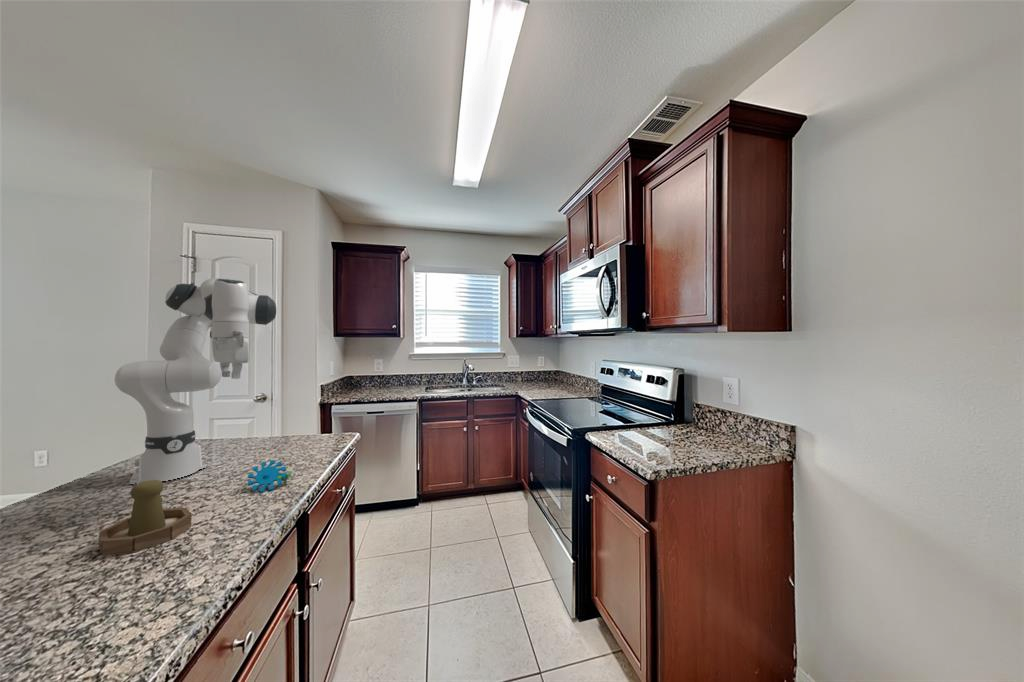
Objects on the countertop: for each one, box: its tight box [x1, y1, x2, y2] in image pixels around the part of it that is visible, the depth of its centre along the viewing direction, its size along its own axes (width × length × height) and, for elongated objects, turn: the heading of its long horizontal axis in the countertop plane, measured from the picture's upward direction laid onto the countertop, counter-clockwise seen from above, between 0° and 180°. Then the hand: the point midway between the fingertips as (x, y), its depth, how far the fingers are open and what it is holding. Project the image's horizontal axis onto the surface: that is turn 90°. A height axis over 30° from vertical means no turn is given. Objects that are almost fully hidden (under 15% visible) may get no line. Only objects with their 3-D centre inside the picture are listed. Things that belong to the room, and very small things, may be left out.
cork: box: [128, 480, 166, 537], centre depth 79 cm, size 6×6×11 cm
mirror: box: [98, 507, 192, 556], centre depth 79 cm, size 14×14×3 cm
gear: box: [247, 459, 292, 493], centre depth 106 cm, size 11×6×10 cm
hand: (230, 377), depth 103 cm, fingers open, 8 cm apart
